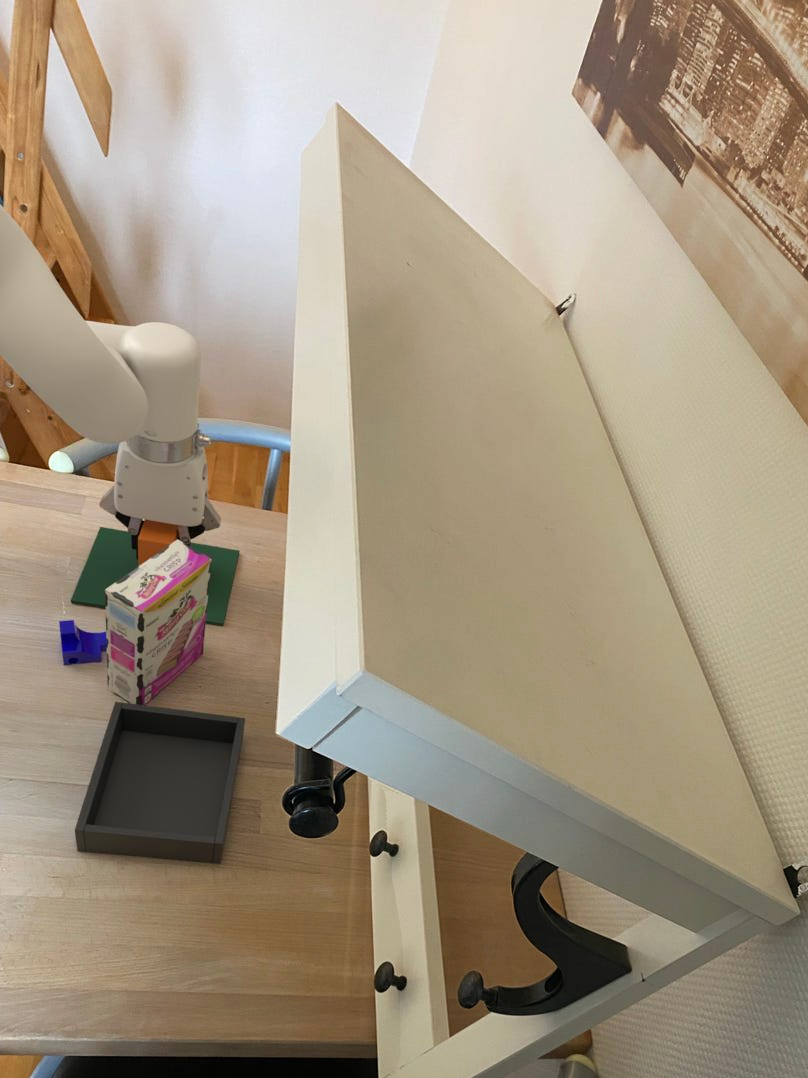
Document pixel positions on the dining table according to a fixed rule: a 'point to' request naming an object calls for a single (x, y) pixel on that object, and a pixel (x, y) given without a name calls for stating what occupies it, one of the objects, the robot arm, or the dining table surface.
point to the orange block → (155, 538)
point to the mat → (119, 559)
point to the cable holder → (81, 644)
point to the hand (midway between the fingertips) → (161, 554)
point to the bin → (162, 785)
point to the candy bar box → (156, 622)
